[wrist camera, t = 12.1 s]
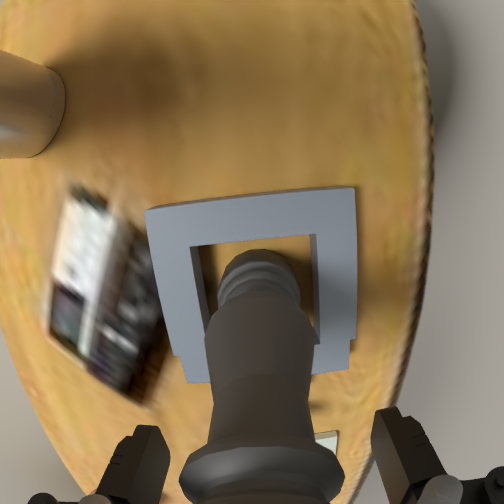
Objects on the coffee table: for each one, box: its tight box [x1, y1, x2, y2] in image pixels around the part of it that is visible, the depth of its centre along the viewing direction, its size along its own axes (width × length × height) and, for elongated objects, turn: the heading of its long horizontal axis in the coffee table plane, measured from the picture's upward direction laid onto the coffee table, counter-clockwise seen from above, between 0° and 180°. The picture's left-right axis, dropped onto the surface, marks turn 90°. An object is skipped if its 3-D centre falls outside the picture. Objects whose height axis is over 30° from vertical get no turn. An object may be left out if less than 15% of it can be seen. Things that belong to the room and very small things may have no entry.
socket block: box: [144, 186, 357, 383], centre depth 25 cm, size 15×18×3 cm
